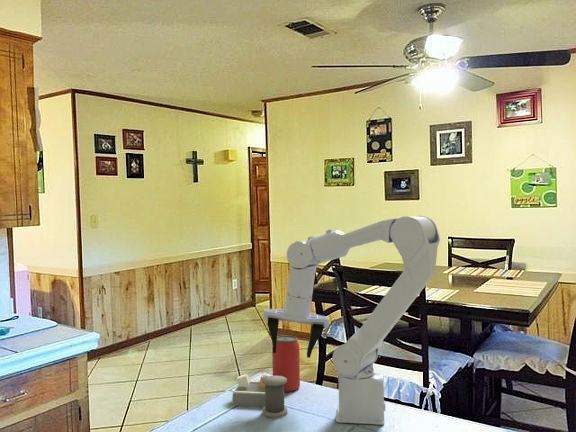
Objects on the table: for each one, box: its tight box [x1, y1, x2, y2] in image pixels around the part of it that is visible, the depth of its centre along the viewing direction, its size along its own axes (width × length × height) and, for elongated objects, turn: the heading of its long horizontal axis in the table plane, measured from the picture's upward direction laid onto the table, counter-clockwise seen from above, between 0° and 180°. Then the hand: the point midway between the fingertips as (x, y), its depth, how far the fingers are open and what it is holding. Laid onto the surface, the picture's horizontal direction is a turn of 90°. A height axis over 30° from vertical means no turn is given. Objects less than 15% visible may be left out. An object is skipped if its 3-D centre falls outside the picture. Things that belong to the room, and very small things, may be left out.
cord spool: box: [262, 375, 288, 419], centre depth 104 cm, size 5×5×7 cm
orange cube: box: [259, 374, 268, 387], centre depth 111 cm, size 2×2×2 cm
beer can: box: [271, 334, 301, 393], centre depth 118 cm, size 7×7×12 cm
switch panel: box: [232, 380, 265, 408], centre depth 112 cm, size 8×8×3 cm
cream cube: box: [236, 373, 251, 387], centre depth 112 cm, size 2×2×2 cm
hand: (291, 353), depth 110 cm, fingers open, 7 cm apart
